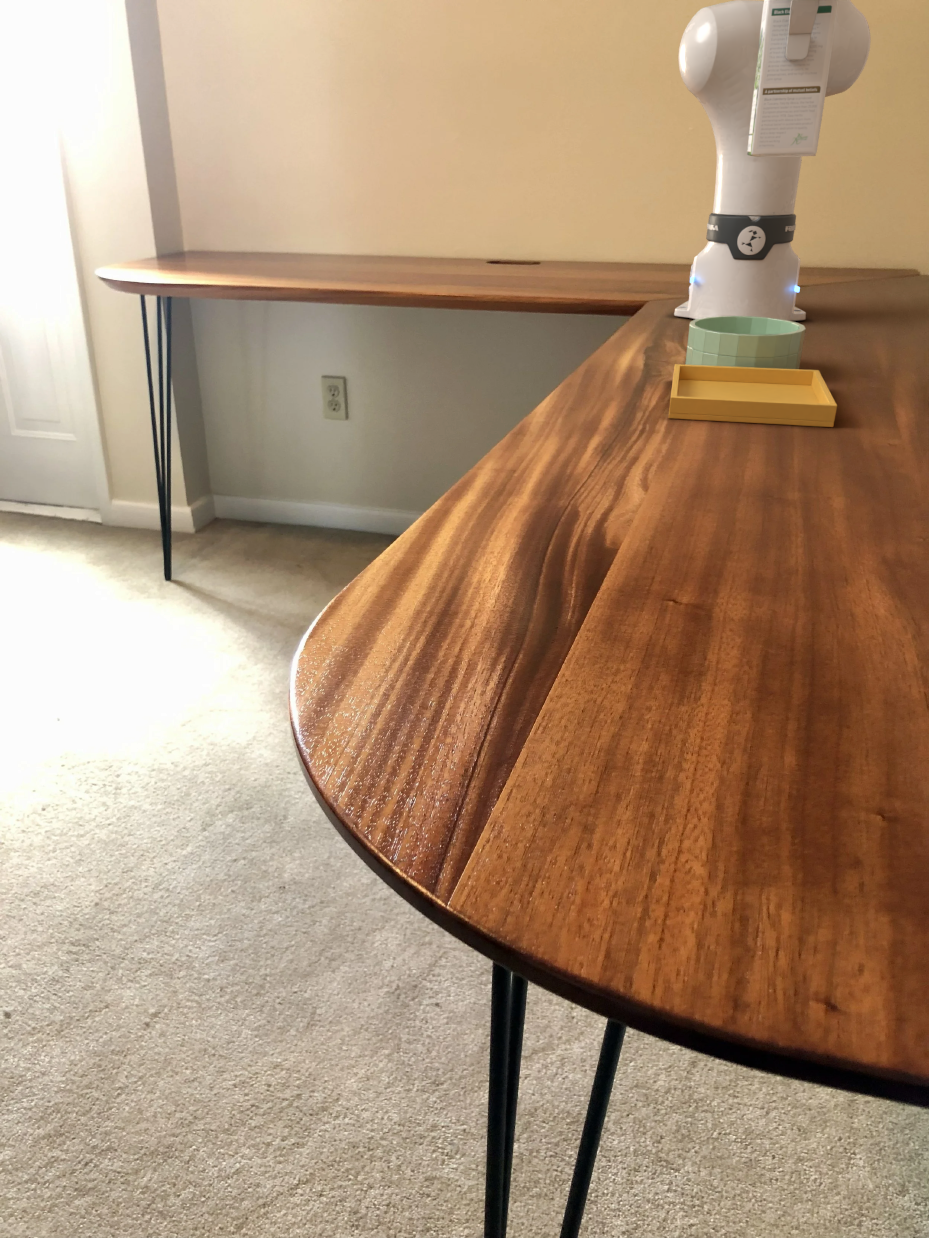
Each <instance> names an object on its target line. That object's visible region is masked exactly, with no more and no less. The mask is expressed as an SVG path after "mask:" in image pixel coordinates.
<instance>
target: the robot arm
mask: <svg viewBox="0 0 929 1238" xmlns="http://www.w3.org/2000/svg"><path fill="white" fill-rule="evenodd" d="M763 5H764V0H730V1H725V2H720V3H716V4H712V5H708V6H704V7H702V8H700V9H699V10H698V11H696V12H695V14H694V15H693V16H692V17H691V19H690V20H689V22H688V23H687V25H686V27H685V29H684V30H683V34H682V36H681V39H680V42H679V47H678V55H677V56H678V58H677V59H678V60H677V61H678V69H679V74H680V77H681V80H682V82H683V84H684V86H685V87H686V89H687V90H688V91H689V92H690V94H692V96H694V97H695V98H696V100H697V101H698V102H699V103H700V105H701V106H702V108H703V110H704V112H705V115H707V118H708V120H709V123H710V126H711V130H712V132H713V136H714V137H713V138H714V141H715V150H716V151H715V152H716V169H715V185H714V195H713V196H714V197H713V206H712V212H711V213H709V214H708V215H709V216H708V222H707V224H706V241H707V243H706V245H705V246H704V248H703V249H702V250H700V252H698V253H697V255H695V256H694V257H693V263H691V266H690V272H689V284H690V285H689V287H688V290H687V293H688V295H689V296H688V300H687V301H685V302H683V303H681V304H680V305H678V306H677V307H675V309H674V313H673V316H675V317H680V318H689V319H693V320H695V319H700V318H705V317H715V316H756V317H768V318H776V319H783V320H788V321H793V322H796V321H805V320H806V319H807V316H806V315H807V312H806V311H804V310H802V309H801V308H799V307H797V306H796V302H797V301H796V300H797V293H800V289H801V287H800V286H798V285H799V276H800V269H801V268H800V267H801V258H800V257H798V254H796V253H795V251H794V250H793V247H792V246H791V243H792V242H793V241H794V236H795V231H796V227H797V223H796V222H797V221H796V220H797V215H796V214H795V207H796V201H797V200H796V199H797V193H798V186H799V182H800V181H799V180H800V175H801V167H802V156H800V157H755V156H749V155H747V148H748V139H749V130H750V120H751V112H752V103H753V94H754V85H755V76H756V67H757V59H758V49H759V40H760V31H761V22H762V13H763ZM818 6H819V0H791V4H790V16H789V26H788V36H787V41H786V49H785V59H786V60H787V61H801V60H803V59H805V58H806V57H807V55H808V53H809V47H810V40H811V33H812V30H813V26H814V22H815V18H816V14H817V10H818ZM871 41H872V40H871V29H870V26H869V23H868V21H867V18H866V16H865V15H864V14H863V12H862V11H860V9H858V8H857V6H856V5H855V4H854V3H853V2H852V1H851V0H838V5H837V13H836V20H835V28H834V36H833V43H832V51H831V58H830V65H829V72H828V80H827V87H826V94H825V98H828V97H830V96H834V95H838V94H842V93H844V92H846V91H847V90H849V89H850V88H851V87H852V86H853V85H854V84H855V83H856V81H857V80H858V79H859V77H860V76H861V74H862V72H863V71H864V69H865V67H866V64H867V62H868V58H869V55H870V51H871Z"/></svg>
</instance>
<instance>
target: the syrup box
mask: <svg viewBox="0 0 929 1238" xmlns="http://www.w3.org/2000/svg"><path fill="white" fill-rule="evenodd" d="M763 1H764V5H763V13H762V22H761V31H760V40H759V49H758V59H757V67H756V76H755V85H754V94H753V103H752V112H751V120H750V130H749V139H748V148H747V155H749V156H755V157H800V156H801V157H816V154H817V153H818V146H819V140H820V133H821V126H822V120H823V114H824V106H825V100H826V97H825V94H826V87H827V80H828V72H829V65H830V58H831V51H832V43H833V36H834V28H835V20H836V13H837V5H838V0H819V6H818V10H817V14H816V18H815V22H814V26H813V30H812V33H811V40H810V47H809V53H808V55H807V57H806V58H805V59H803V60H801V61H787V60H786V59H785V49H786V41H787V36H788V26H789V16H790V4H791V0H763Z"/></svg>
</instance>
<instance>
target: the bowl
mask: <svg viewBox="0 0 929 1238" xmlns="http://www.w3.org/2000/svg"><path fill="white" fill-rule="evenodd" d="M806 330H807V328H806V326H805V325H804V324H801V323H799V322H796V321H788V320H783V319H776V318H768V317H756V316H715V317H705V318H700V319H693V320H691V321H689V327H688V335H687V336H688V337H687V345H686V353H685V364H684V365H707V366H731V367H755V368H779V369H800V365H801V360H802V355H803V347H804V342H805V337H806Z"/></svg>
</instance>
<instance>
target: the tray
mask: <svg viewBox="0 0 929 1238" xmlns="http://www.w3.org/2000/svg"><path fill="white" fill-rule="evenodd" d="M669 399H670V400H669V409H668V418H667V419H677V420H693V421H695V420H696V421H709V422H710V421H711V422H712V421H713V422H730V423H745V424H747V423H748V424H749V423H750V424H764V425H765V424H766V425H767V424H768V425H784V426H803V427H820V428H821V427H822V428H823V427H824V428H834V424H835V420H836V414H837V409H838V404H837V402H836V400H835V399H834V397H833V395H832V393H831V391H830V389H829V387H828V385H827V383H826V381H825V380H824V378H823V376H822V374H821V371H820V370H819V369H800V368H799V369H779V368H755V367H731V366H707V365H685V364H682V363H681V364H679V363H674V367H673V375H672V385H671V391H670V398H669Z"/></svg>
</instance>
